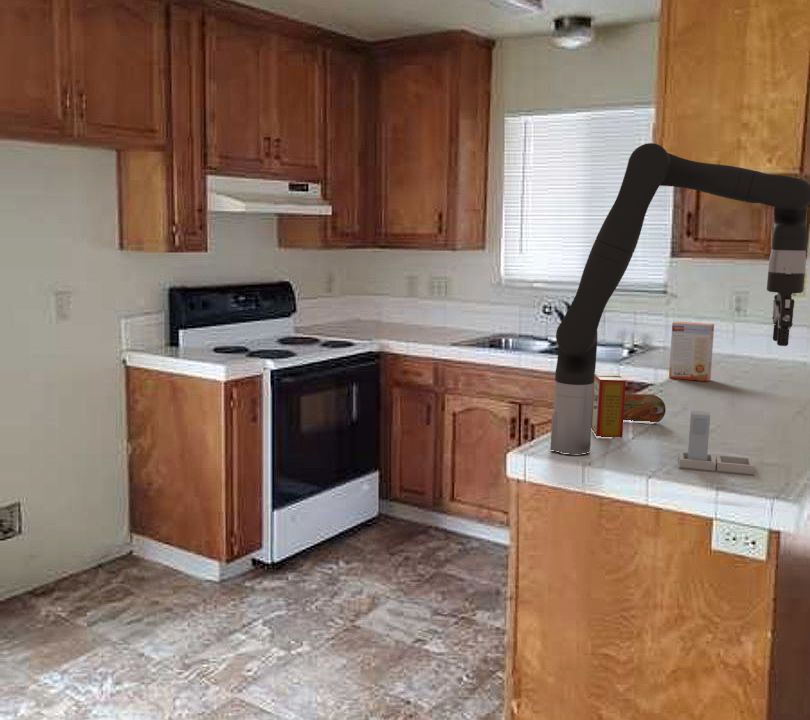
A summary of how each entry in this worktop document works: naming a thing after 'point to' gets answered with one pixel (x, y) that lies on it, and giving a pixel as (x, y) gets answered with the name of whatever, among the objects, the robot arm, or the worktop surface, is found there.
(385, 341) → the worktop surface
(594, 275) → the robot arm
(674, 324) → the cracker box
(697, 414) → the plug
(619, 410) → the baking soda box
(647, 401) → the tin
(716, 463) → the grey divided tray
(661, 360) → the worktop surface
